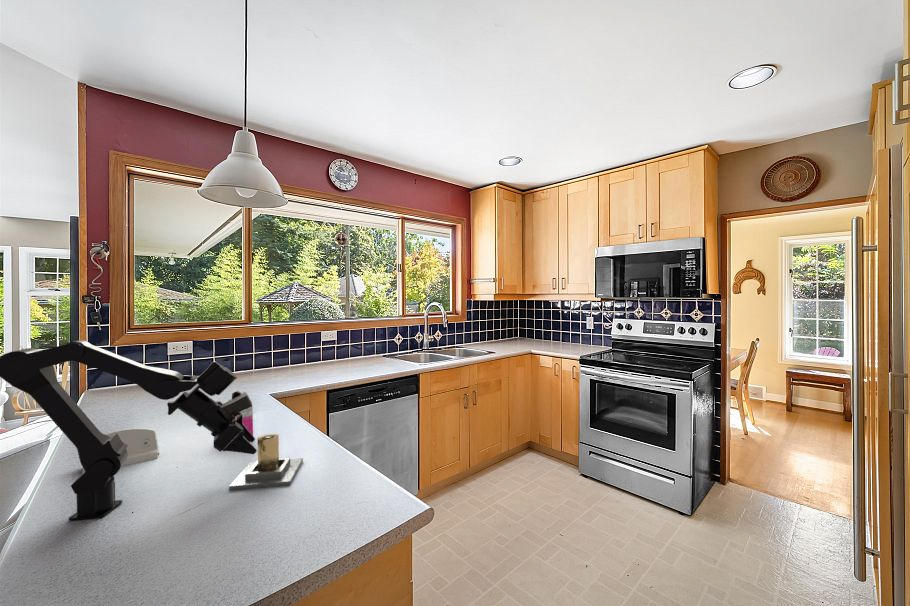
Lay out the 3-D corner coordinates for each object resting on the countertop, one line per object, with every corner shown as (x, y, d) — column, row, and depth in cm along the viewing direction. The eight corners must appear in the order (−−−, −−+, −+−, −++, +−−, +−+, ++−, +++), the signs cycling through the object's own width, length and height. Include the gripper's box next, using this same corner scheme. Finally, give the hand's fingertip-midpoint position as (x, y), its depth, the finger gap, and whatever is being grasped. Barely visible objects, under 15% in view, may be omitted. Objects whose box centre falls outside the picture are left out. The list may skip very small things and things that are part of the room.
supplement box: (226, 440, 127) (225, 405, 127) (243, 434, 132) (242, 401, 132) (236, 443, 124) (236, 408, 124) (254, 437, 129) (253, 403, 129)
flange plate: (289, 485, 96) (289, 475, 96) (229, 490, 93) (228, 480, 93) (302, 461, 109) (302, 453, 109) (250, 465, 107) (250, 456, 107)
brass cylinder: (269, 476, 98) (268, 441, 98) (253, 474, 100) (252, 439, 100) (283, 468, 103) (282, 434, 103) (268, 466, 105) (267, 432, 104)
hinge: (80, 474, 103) (82, 435, 106) (83, 474, 107) (85, 436, 109) (159, 458, 113) (158, 423, 116) (159, 458, 117) (159, 424, 119)
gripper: (230, 391, 89) (282, 431, 94) (231, 377, 105) (275, 412, 111) (189, 431, 85) (245, 470, 91) (196, 410, 101) (244, 444, 107)
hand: (254, 446), depth 100 cm, fingers open, 9 cm apart
